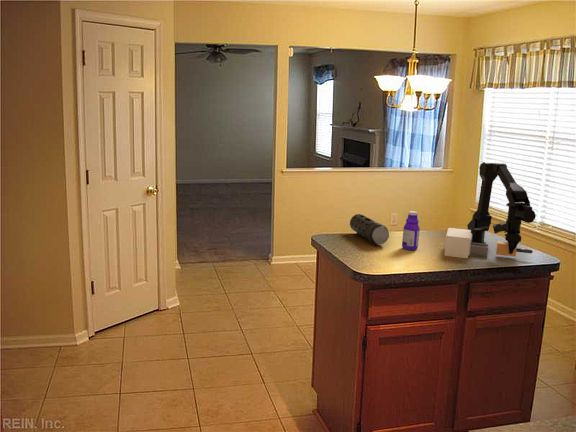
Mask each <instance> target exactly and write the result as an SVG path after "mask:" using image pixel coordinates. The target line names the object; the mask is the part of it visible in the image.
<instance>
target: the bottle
mask: <svg viewBox="0 0 576 432" xmlns="http://www.w3.org/2000/svg"><path fill="white" fill-rule="evenodd" d="M418 213H419V212H418V211H415V210H409V211H408V213H407V214H408V215H407V218H406V219H405V224H404V226H403V228H402V229H403V231H402V241H401V247H402V248H403V249H405V250H408V251H416V250H418V248H419V242H420V241H419V240H420V238H419V237H420V229H421V228H420V225H419V222H420V221H419V218H418Z"/></svg>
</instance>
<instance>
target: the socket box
mask: <svg viewBox="0 0 576 432" xmlns="http://www.w3.org/2000/svg"><path fill="white" fill-rule="evenodd" d="M446 232H447V233H446V236H445V243H444V245H445V247H444V257H453V258H463V259H468V258H469V256H473V257H480V258H488V253H489V244H488V243H486V244H482V243H473V242H472V237H473V235H472V233H471V230H468V229H466V228H465V229H463V228H454V227H448V229H447V231H446Z"/></svg>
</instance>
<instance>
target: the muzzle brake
mask: <svg viewBox="0 0 576 432" xmlns="http://www.w3.org/2000/svg"><path fill="white" fill-rule="evenodd" d="M349 226H350V228H351V230H352V231H354V232H356V234H357V235H358V236H360V237H362V238H365V240H369V242H370V243H371V244H373V245H384V244H385V243H387V241H389V237H390V233H389V230H388V229H389V228H387V227H386V225H384V224H382V223H378V222H377V221H375V220H373V219H371V218H369V217H367V216H366V215H364V214H361V213H357V214H354V215H353V216H352V217H351V219H350V221H349Z"/></svg>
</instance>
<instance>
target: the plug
mask: <svg viewBox="0 0 576 432" xmlns="http://www.w3.org/2000/svg"><path fill="white" fill-rule="evenodd" d="M517 246H518V245H517ZM517 246H516V248H515V250H514V251H513V253H512V254H509V245H508V242H507V241H506V242H505V241H496V250H495V255H497V256H498V255H499V256H507V257H508V256H509V257H516V255H517V253H524V254H532V253H534V252H533V250H532V249H527V248H519V247H517Z"/></svg>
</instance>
